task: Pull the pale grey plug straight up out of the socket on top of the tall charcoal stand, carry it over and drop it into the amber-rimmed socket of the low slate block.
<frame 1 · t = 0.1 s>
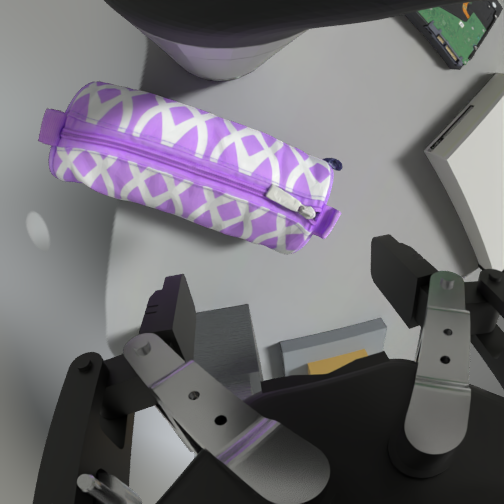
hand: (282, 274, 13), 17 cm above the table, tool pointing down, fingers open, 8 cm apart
pencil case: (197, 156, 27), on the table
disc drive: (492, 175, 31), on the table
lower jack: (331, 364, 42), on the table
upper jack: (214, 342, 37), on the table
disk drive: (446, 4, 20), on the table
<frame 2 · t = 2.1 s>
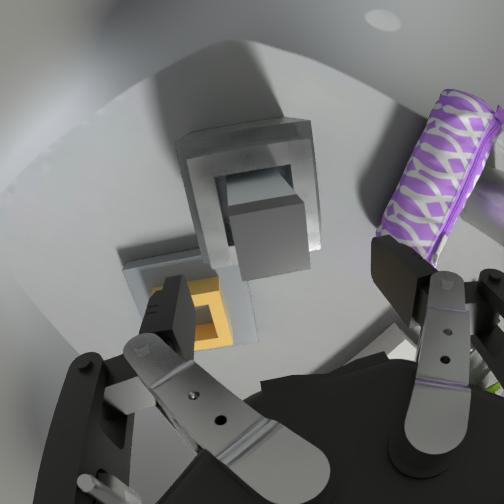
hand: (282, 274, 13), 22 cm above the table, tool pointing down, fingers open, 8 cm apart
pencil case: (420, 171, 34), on the table
plug: (254, 194, 23), point 10 cm above the table, touching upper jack
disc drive: (366, 379, 51), on the table
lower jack: (194, 300, 39), on the table
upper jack: (244, 169, 32), on the table
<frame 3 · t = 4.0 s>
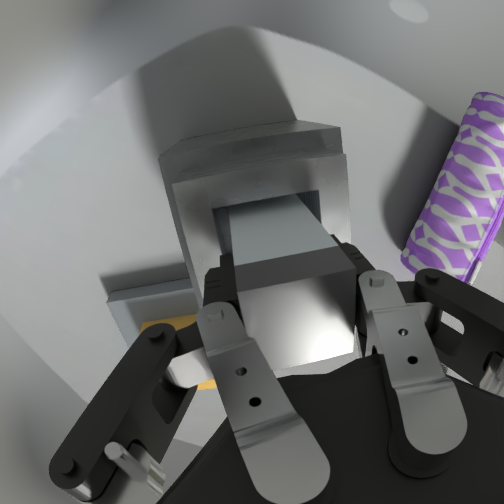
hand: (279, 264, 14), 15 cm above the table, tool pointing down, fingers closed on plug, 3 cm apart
pencil case: (448, 184, 29), on the table
plug: (264, 225, 18), point 10 cm above the table, touching gripper, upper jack
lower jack: (191, 333, 33), on the table
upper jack: (249, 184, 27), on the table
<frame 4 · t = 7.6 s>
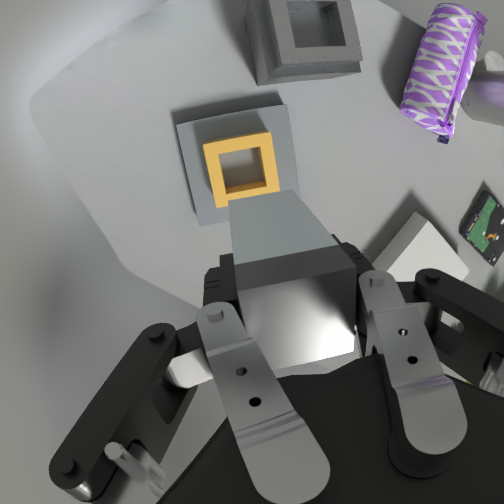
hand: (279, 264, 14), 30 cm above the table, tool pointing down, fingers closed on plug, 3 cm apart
pencil case: (427, 68, 35), on the table
plug: (264, 224, 18), point 25 cm above the table, touching gripper
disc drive: (398, 282, 53), on the table
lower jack: (240, 163, 40), on the table
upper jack: (288, 47, 34), on the table
disk drive: (484, 227, 49), on the table
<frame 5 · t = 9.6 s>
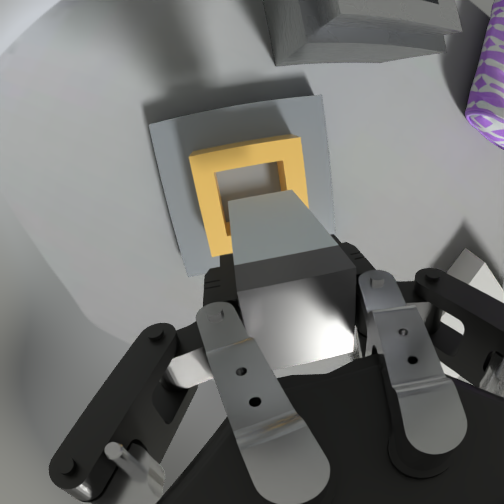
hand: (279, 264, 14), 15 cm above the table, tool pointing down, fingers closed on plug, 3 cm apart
pencil case: (490, 63, 23), on the table
plug: (264, 225, 18), point 10 cm above the table, touching gripper
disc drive: (437, 329, 40), on the table
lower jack: (248, 183, 27), on the table
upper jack: (321, 13, 20), on the table
when the fingers open (8 cm above the table, at t = 11.4 s): plug drops 1 cm, resting on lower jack.
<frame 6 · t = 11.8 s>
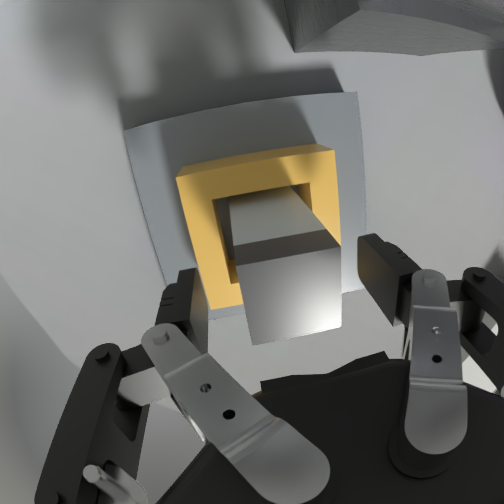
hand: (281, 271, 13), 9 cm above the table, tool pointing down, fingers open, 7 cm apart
plug: (262, 216, 19), point 2 cm above the table, touching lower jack
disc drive: (459, 360, 34), on the table
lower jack: (257, 206, 21), on the table
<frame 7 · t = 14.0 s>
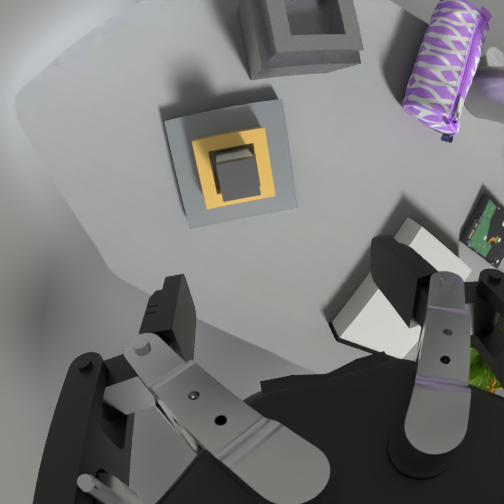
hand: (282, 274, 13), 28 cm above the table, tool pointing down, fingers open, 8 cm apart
pencil case: (430, 64, 34), on the table
potted flower: (485, 336, 62), on the table
plug: (234, 164, 36), point 2 cm above the table, touching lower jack
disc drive: (398, 289, 51), on the table
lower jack: (232, 161, 38), on the table
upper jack: (283, 39, 31), on the table
disk drive: (486, 230, 48), on the table
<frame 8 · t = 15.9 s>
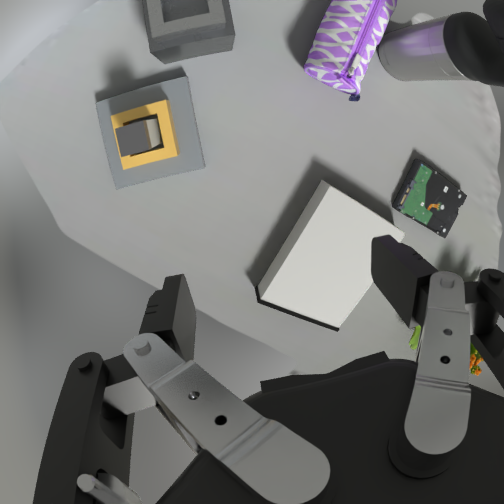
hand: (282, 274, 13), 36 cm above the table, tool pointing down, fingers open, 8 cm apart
pencil case: (342, 33, 38), on the table
potted flower: (446, 316, 66), on the table
plug: (148, 133, 40), point 2 cm above the table, touching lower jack
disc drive: (326, 255, 55), on the table
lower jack: (151, 132, 42), on the table
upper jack: (192, 27, 36), on the table
disk drive: (427, 197, 52), on the table
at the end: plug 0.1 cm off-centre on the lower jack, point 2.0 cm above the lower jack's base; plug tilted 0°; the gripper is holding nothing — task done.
